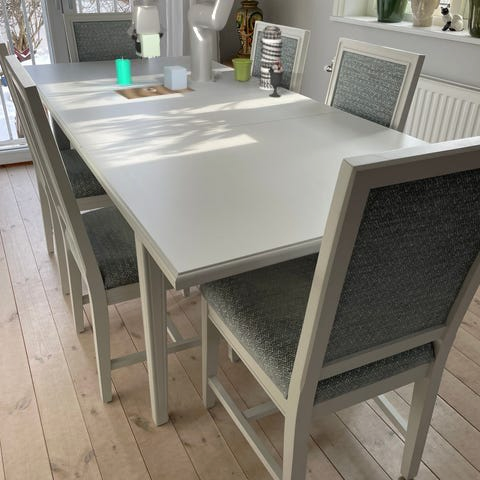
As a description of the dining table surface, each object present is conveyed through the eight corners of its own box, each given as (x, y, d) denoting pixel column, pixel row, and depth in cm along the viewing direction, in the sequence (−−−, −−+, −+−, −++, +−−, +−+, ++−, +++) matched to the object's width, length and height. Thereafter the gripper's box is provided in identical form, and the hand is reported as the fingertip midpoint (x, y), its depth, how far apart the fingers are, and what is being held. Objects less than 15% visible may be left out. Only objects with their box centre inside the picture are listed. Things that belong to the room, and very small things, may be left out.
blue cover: (178, 84, 219) (178, 65, 215) (186, 88, 215) (186, 68, 211) (164, 86, 216) (163, 66, 212) (172, 90, 211) (171, 70, 207)
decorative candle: (276, 91, 219) (280, 29, 207) (255, 89, 222) (258, 27, 209) (281, 87, 227) (286, 26, 214) (262, 84, 229) (265, 24, 217)
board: (178, 85, 223) (178, 81, 222) (196, 93, 212) (196, 89, 211) (113, 93, 208) (113, 89, 207) (128, 101, 197) (128, 97, 196)
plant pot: (237, 83, 230) (238, 63, 226) (228, 78, 238) (228, 59, 233) (255, 81, 234) (256, 61, 230) (245, 77, 242) (246, 57, 237)
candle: (130, 87, 216) (128, 58, 210) (116, 87, 216) (113, 57, 210) (133, 84, 222) (131, 55, 216) (119, 83, 221) (116, 54, 216)
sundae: (284, 95, 215) (287, 57, 207) (280, 98, 209) (283, 60, 202) (269, 93, 216) (271, 56, 209) (264, 96, 211) (267, 58, 203)
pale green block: (152, 52, 207) (151, 31, 203) (160, 55, 202) (159, 34, 198) (136, 54, 203) (134, 32, 199) (143, 57, 198) (142, 35, 194)
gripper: (161, 0, 200) (163, 48, 209) (119, 1, 191) (123, 51, 200) (170, 2, 195) (172, 51, 203) (127, 4, 186) (131, 55, 195)
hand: (147, 51), depth 202 cm, fingers closed on pale green block, 7 cm apart
